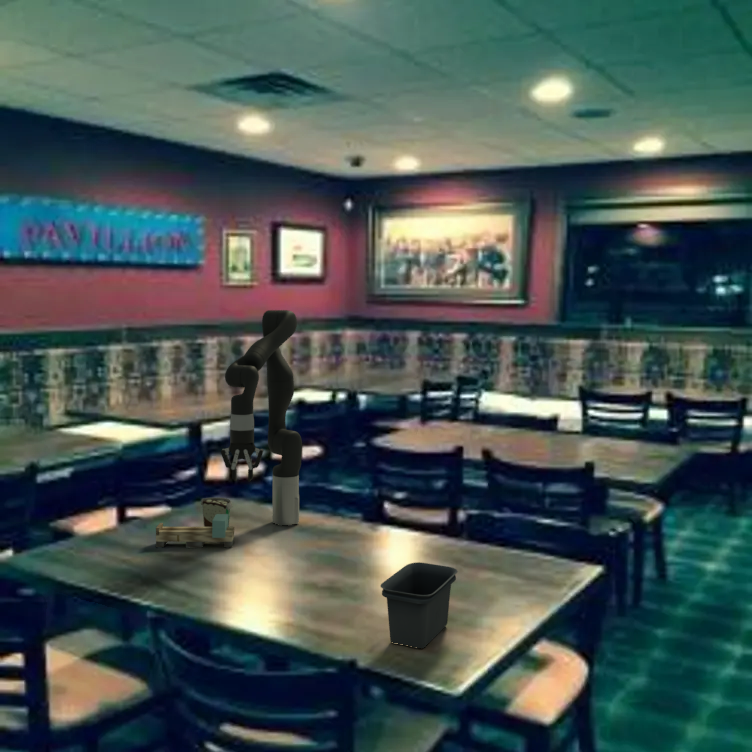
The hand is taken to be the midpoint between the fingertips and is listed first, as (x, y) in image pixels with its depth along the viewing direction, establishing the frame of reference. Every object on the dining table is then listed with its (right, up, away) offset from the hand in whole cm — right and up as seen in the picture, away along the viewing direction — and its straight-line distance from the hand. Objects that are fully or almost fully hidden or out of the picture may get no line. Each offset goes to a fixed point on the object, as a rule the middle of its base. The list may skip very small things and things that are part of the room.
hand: (242, 480), depth 272 cm
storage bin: (+52, -29, -68) cm, 90 cm away
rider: (-7, -17, +1) cm, 19 cm away
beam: (-15, -21, +2) cm, 26 cm away
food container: (-11, -19, +22) cm, 31 cm away
